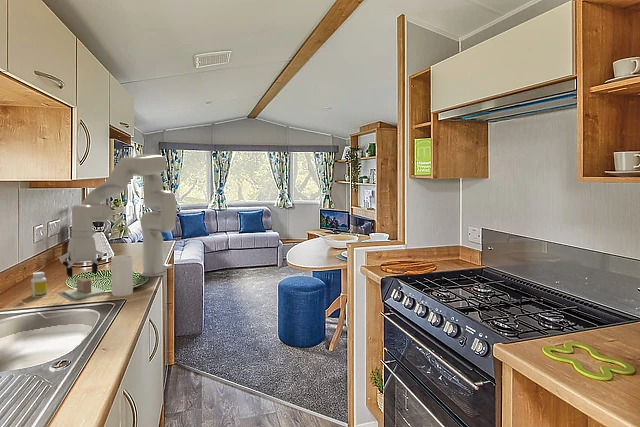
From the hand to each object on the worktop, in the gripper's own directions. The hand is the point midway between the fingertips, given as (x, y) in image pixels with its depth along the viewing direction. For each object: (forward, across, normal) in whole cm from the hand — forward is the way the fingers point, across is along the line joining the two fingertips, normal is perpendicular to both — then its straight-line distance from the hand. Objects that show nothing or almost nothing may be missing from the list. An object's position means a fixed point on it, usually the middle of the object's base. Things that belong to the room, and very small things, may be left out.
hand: (82, 274), depth 185 cm
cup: (+8, -12, +10) cm, 18 cm away
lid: (+8, -1, 0) cm, 8 cm away
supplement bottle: (+9, +13, -9) cm, 18 cm away
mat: (+8, -1, 0) cm, 8 cm away
